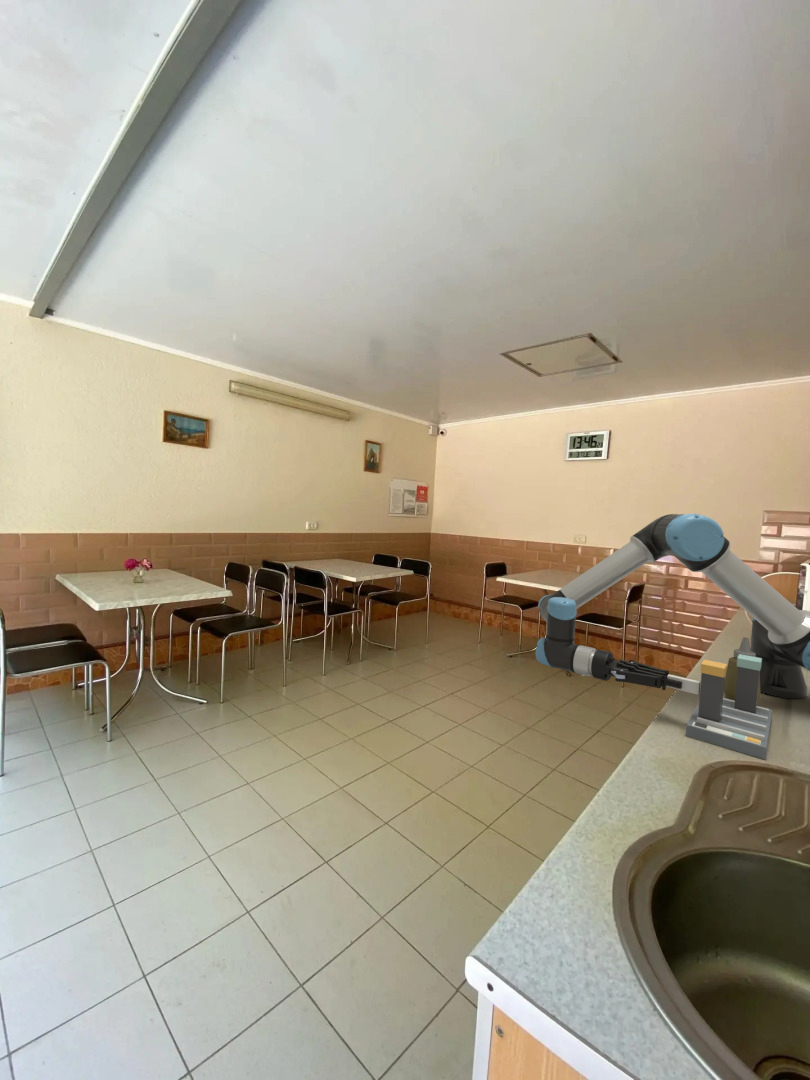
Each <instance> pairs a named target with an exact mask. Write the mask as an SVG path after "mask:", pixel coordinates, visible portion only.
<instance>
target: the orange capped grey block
mask: <svg viewBox="0 0 810 1080" xmlns="http://www.w3.org/2000/svg"><path fill="white" fill-rule="evenodd" d="M727 666H728V663H723V662H718V661H713V660H709V659H703V660H702V662H701V663H700V673H701V676H700V693H699V699H698V700H699V701H698V704H699V712H698V717H700V718H703V719H707V720H711V721H714V722H718V723H720V722H721V718H722V706H723V698H724V695H725V694H724V681H725V676H726V671H727Z"/></svg>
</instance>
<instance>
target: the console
mask: <svg viewBox="0 0 810 1080" xmlns="http://www.w3.org/2000/svg"><path fill="white" fill-rule="evenodd" d="M734 706H735V701H734V700H730V699H726V698H724V697H723V706H722V718H721V722H720V723H718V722H714V721H711V720H707V719H703V718H700V717H698V712H699V703H698V704H697V706H696V707H695V709H694V711H693V713H692V714H691V715H690V718H689V719H688V721H687V723H686V726H685V729H686V730H685V737H689V738H692V739H695V740H698V741H701V742H705V743H709V744H712V745H715V746H718V747H721V748H725V749H729V750H732V751H735V752H738V753H741V754H745V755H748V756H750V757H751V756H752V757H753V758H754V757H755V758H758V759H761V760H765V761H766V758H767V751H768V745H769V737H770V732H769V731H770V730H771V725H772V718H773V716H772V714H773V709H770V708H766V707H763V706H758V705H757V709H756V714H754V713H750V712H746V711H742V710H738V709H734Z"/></svg>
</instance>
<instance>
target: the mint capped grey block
mask: <svg viewBox="0 0 810 1080" xmlns="http://www.w3.org/2000/svg"><path fill="white" fill-rule="evenodd" d="M761 664H762V658H757V657H752V656H747V655H742V654H739V656H738V658H737V666H738V670H737V682H736V694H735V706H734V709H738V710H742V711H746V712H750V713H754V714H756V709H757V706H758V703H757V697H758V686H759V674H760V669H761Z"/></svg>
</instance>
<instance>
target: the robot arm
mask: <svg viewBox="0 0 810 1080" xmlns="http://www.w3.org/2000/svg"><path fill="white" fill-rule="evenodd" d="M724 535H725V534H724V531H723V529H722V526H720V524H719V523H718V522H717V521H716V520H714V518H713V519H712V518H711V517H709V516H706V515H703V514H702V515H701V514H698V513H685V514H683V513H680V514H679V513H671V514H666V515H662V516H660V517H658V518H656V519H654V520H653V521H652V522H650V523H649V524H646V525H645V526H644V527H643V528H642V529H640V530H638V531H637V532H636V533H634V534H633V535H632V536H630V539H629V542H627V543H626V544H624V545H623V546H622V547H620V548H619V549H617V550H616V551H614V552H612V553H611V554H610V555H608V556H607V557H605V558H604V559H602V560H601V561H600V562H598V563H597V564H595V565H593V566H592V567H591V568H589V569H588V570H586V571H585V572H583V573H582V574H581V575H579V576H577V577H576V578H575V579H573V580H571V581H570V582H568V583H567V584H566V585H564V586H563V587H561V588H560V589H559V590H557V591H555V592H553V593H552V594H547V595H545V596H542V597H541V598H540V600H539V601H538V604H537V605H538V606H537V607H538V612H539V614H540V617H541V618H543V619H544V621H545V622H546V631H545V637H541V638H539V640H538V641H537V642H536V648H535V658H536V660H537V662H538V663H540V664H542V665H545V666H548V667H550V668H554V669H559V670H563V671H565V672H566V671H567V672H571V673H575V674H580V676H581V677H585V676H587V677H592V678H594V679H597V680H600V681H606V682H607V681H609V680H611V677H613V678H614V679H615V682H618V683H619V682H620V683H629V684H634V685H640V686H645V687H650V688H656V689H661V690H662V691H665V690H666V688H669V689H675V690H678V691H682V692H686V693H691V694H695V695H699V696H700V686H701V680H700V681H699V680H695V679H692V678H691V679H690V678H687V677H684V676H683V677H682V676H678V675H675V674H670V671H669V670H668V669H667V670H664V669H661V668H658V667H655V666H651V665H647V664H644V663H640V662H638V661H635V660H633V659H629V660H628V661H627V660H625V659H624V660H623V659H619V660H617V659H615V658H614V654H613V652H612V651H608V650H603V649H596V648H595V647H591V646H585V645H580V644H576V643H575V634H576V633H575V632H576V622H577V621H576V620H577V618H576V617H577V609H579V608H580V607H582V606H583V605H585V604H587V603H588V602H589V601H591V600H593V599H594V598H595V597H597V596H598V595H600V594H602V593H603V592H604V591H607V590H608V589H609V588H610V587H612V586H614V585H615V584H616V583H618V582H619V581H621V580H623V579H625V578H626V577H628V576H629V575H630V574H632V573H633V572H635V571H636V570H638V569H639V568H641V567H642V566H644V565H645V564H647V563H650V564H653V563H655V562H657V561H658V560H660V559H662V558H664V557H668V556H672V557H674V558H675V559H677V560H678V561H679V563H681V564H683V566H685V567H686V568H687V569H688V570H689V571H690V572H692V573H702V575H703V574H704V575H705V577H707V579H708V580H710V581H711V582H712V583H713V584H714V585H715V586H716V587H717V588H719V589H720V590H721V591H722V592H724V593H725V594H726V595H727V597H729V598H730V599H731V600H733V601H734V602H735V603H736V604H737V605H738V606H740V607H741V609H743V610H744V611H745V612H746V613H747V614H748V615H750V616H751V617H752V620H751V622H752V625H751V627H752V628H751V637H750V638H751V639H750V649H751V652H754V653H755V654H756V657H757V658H762V664H761V669H760V693H761V692H762V694H765V693H767V694H766V695H769V694H770V696H773V695H774V697H778V696H779V698H785V699H804V698H806V697H808V685H807V684H806V680H805V675H804V672H803V669H802V668H805V669H807V670H808V671H809V672H810V611H809V610H805V609H804V610H803V609H798V608H797V607H796V606H795V605H794V604H792V603H791V602H790V601H789V600H787V598H785V596H783V595H782V594H781V593H780V592H779V591H778V590H776V589H775V588H774V587H773V586H771V584H769V583H768V582H767V581H766V580H764V579H763V577H762V576H760V575H759V574H758V573H757V572H755V571H754V570H753V569H752V568H751V567H750V566H748V564H746V563H745V562H744V561H743V560H742V559H740V557H739V556H737V555H736V554H735V553H734V552H733V551H731V550H730V549H731V541H730V540H728V539H727V537H725V536H724Z"/></svg>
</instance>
